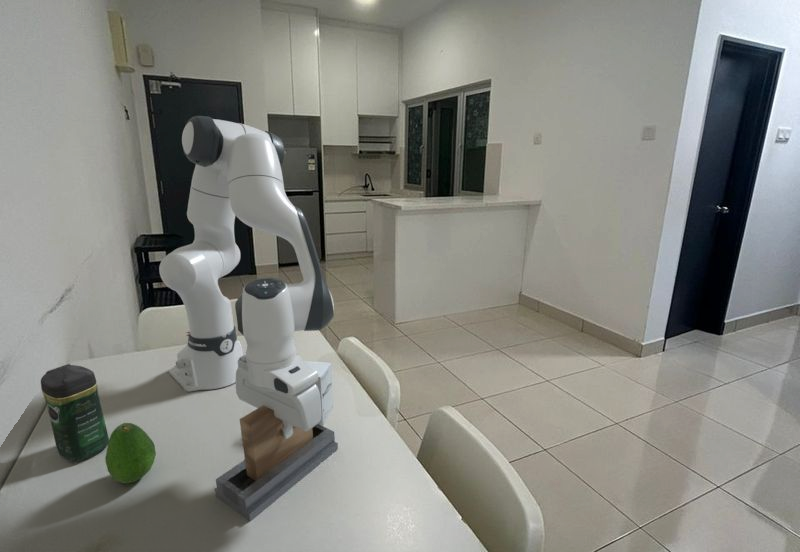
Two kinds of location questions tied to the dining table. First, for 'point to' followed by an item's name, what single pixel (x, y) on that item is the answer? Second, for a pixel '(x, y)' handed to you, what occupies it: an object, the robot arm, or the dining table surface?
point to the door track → (273, 476)
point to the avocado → (129, 453)
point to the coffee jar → (75, 412)
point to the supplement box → (324, 387)
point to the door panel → (268, 441)
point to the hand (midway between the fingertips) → (279, 431)
